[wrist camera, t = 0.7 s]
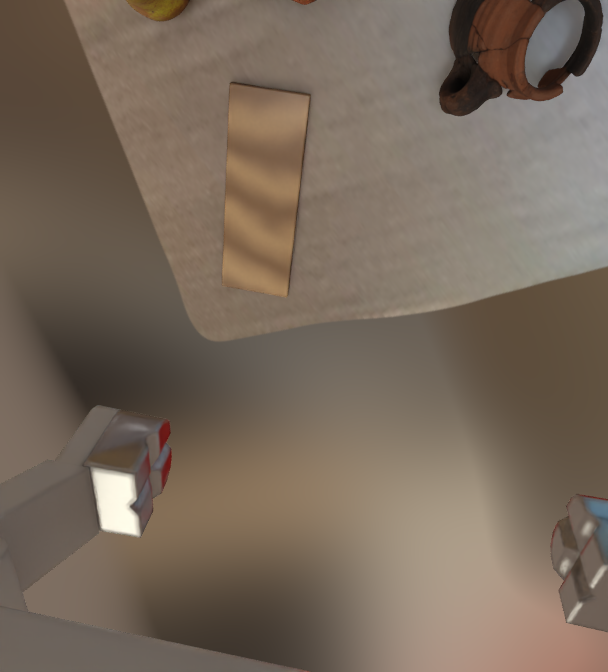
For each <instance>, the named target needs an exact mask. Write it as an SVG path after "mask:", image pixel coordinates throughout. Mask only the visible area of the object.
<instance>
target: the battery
mask: <svg viewBox="0 0 608 672" xmlns="http://www.w3.org/2000/svg"><path fill="white" fill-rule="evenodd" d="M293 1H295V2H297V3H300V4H303V5H307V4H309V3H312V2H314V1H316V0H293Z"/></svg>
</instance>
